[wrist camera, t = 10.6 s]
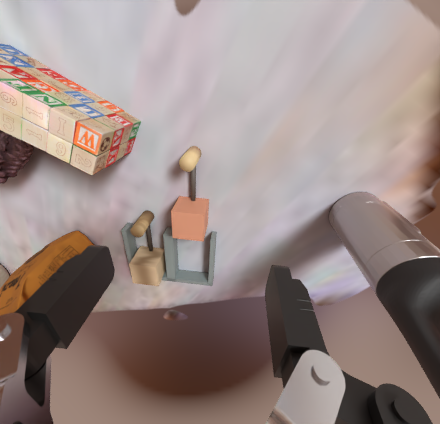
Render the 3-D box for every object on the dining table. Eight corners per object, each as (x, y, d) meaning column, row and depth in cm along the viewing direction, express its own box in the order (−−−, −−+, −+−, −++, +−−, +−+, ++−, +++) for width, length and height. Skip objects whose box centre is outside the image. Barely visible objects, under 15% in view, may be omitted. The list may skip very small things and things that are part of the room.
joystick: (211, 147, 37) (206, 157, 32) (207, 223, 46) (203, 241, 41) (177, 144, 37) (167, 154, 32) (180, 220, 46) (172, 237, 41)
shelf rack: (216, 232, 47) (215, 240, 44) (213, 276, 54) (212, 285, 51) (127, 222, 47) (121, 230, 45) (136, 267, 55) (131, 276, 52)
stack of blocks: (9, 86, 35) (-90, 86, 25) (10, 44, 32) (-103, 24, 22) (132, 152, 39) (91, 177, 29) (142, 120, 36) (101, 135, 26)
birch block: (161, 212, 45) (151, 228, 40) (166, 266, 54) (158, 286, 48) (134, 209, 45) (120, 225, 40) (143, 264, 54) (133, 283, 49)
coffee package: (44, 238, 52) (-67, 324, 33) (81, 224, 49) (-19, 311, 30) (72, 266, 57) (-12, 356, 38) (108, 255, 53) (36, 347, 34)
